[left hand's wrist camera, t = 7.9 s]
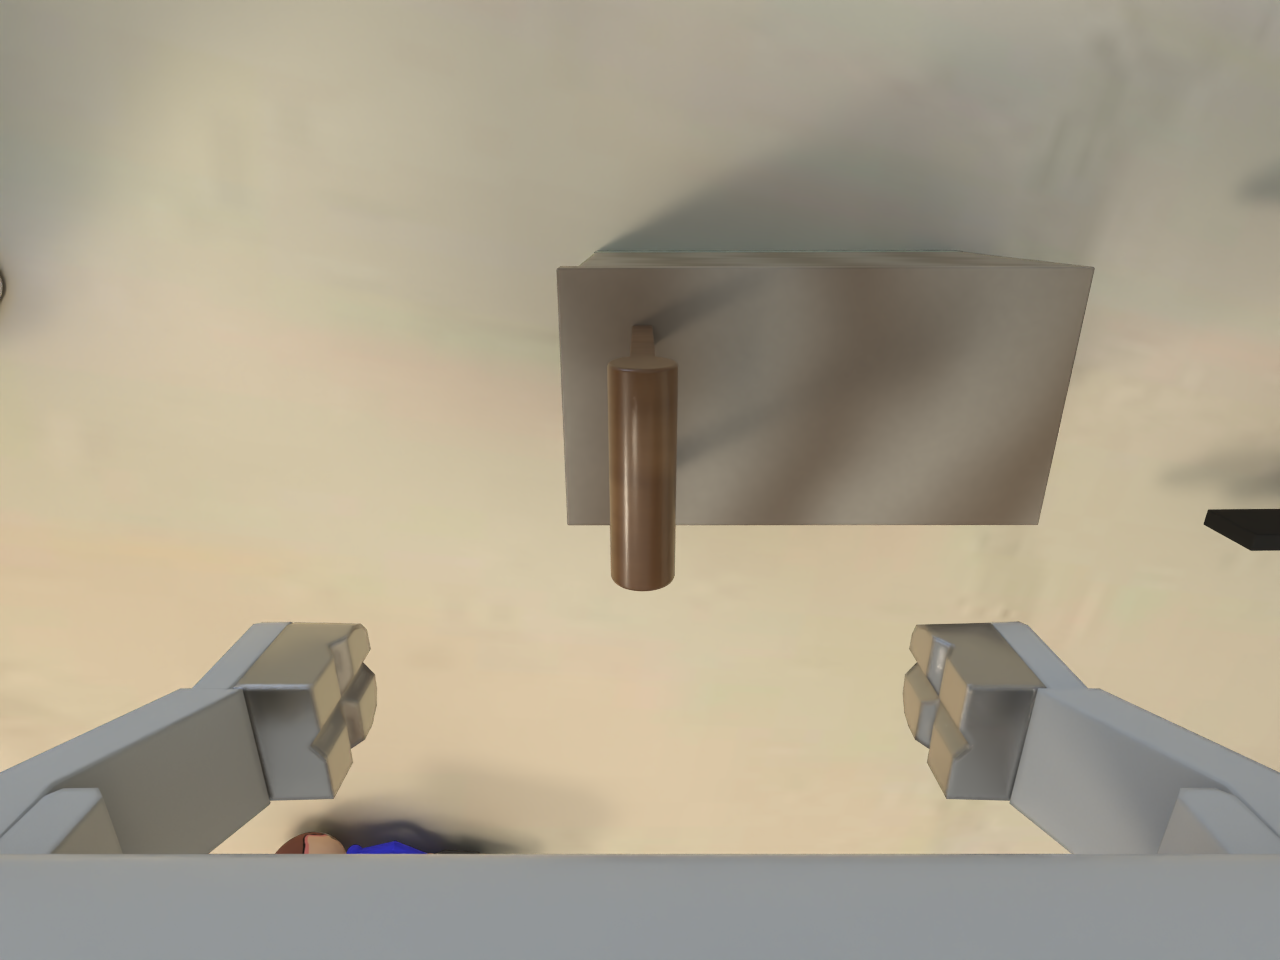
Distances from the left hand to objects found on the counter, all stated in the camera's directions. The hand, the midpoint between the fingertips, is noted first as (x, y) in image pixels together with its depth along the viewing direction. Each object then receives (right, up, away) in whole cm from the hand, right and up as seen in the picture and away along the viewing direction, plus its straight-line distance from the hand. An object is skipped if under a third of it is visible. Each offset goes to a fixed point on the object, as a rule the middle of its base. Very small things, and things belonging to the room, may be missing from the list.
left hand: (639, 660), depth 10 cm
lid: (+6, +6, +15) cm, 17 cm away
